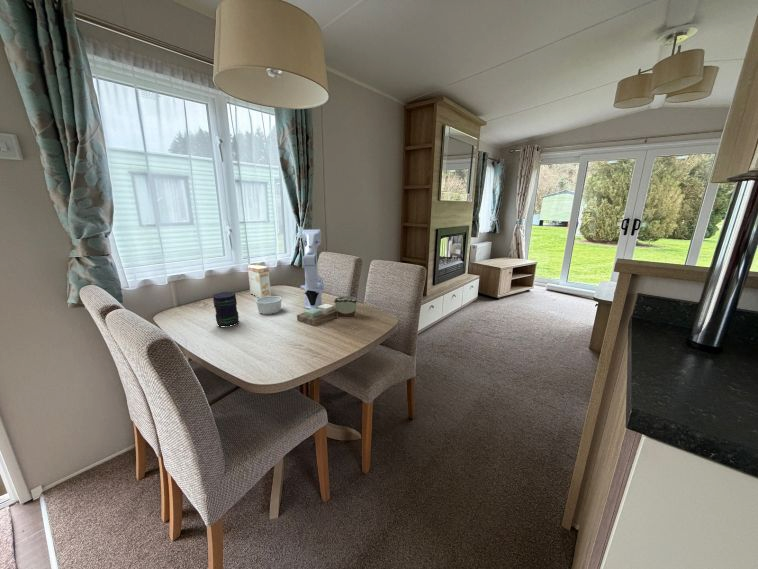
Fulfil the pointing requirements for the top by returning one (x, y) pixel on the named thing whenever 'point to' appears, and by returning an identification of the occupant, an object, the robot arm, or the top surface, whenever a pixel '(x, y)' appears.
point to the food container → (345, 307)
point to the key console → (317, 317)
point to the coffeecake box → (259, 280)
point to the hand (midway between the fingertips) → (312, 305)
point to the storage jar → (226, 308)
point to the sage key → (313, 312)
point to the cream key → (326, 307)
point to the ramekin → (269, 304)
